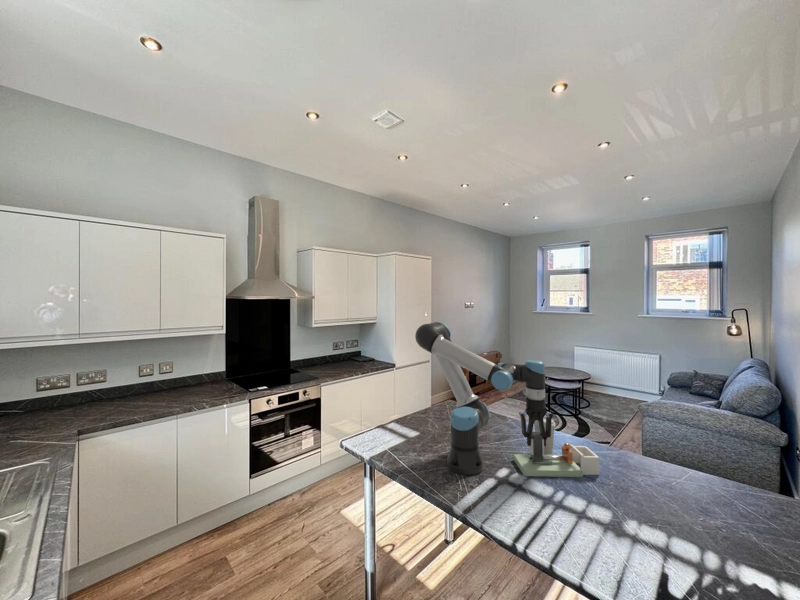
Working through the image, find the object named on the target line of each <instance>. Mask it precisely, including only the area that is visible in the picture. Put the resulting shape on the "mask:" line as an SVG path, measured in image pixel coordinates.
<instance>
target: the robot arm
mask: <svg viewBox="0 0 800 600" xmlns="http://www.w3.org/2000/svg"><path fill="white" fill-rule="evenodd" d="M451 333H452V332H451V330H450V328H449V326H448V325H446V324H445V323H443V322H439V321H438V322H437V321H434V322H431V323H425V324H424V323H423V324H422V325H420V326H419V327H418V328H417V329H416V332H415V335H414V337H415V338H414V339H415V342H416V343H417V345H418V346H419V347H420V348H421V349H423V350H425V351H427V352H429V353H430V354H432V355H434V356H435V357H436V359H437V361H438V363H439V365H440V368H441V370H442V372H443V374H444V376H445V378H446V380H447V383H448V384H449V387H450V389H451V391H452V393H453V396H454V398H455V399H456V404H455V408H454V409H453V410H452V411H451V412H450V418H449V422H450V449H449V452H448V455H447V457H446V465H447V468H448V469H449V470H450V471H452V472H453V473H456V474H459V475H462V476H463V475H464V476H472V475H476V474H479V473H481V472H482V471H483V468H484V460H483V457H482V455H481V452H480V449H479V434H480V433H481V431H482V430H483V429H484V428H485V427H486V426H487V424H489V421H490V410H489V408H488V406H487V405H486V403H484V402H482V401H481V399H480V397H479V395H476V394H475V393H474V392H473V390H472V388H471V386H470V384H469V381H468V380H467V378H466V376H465V373H464V371H463V369H462V368H464V369H465V370H467V371H469V372H471V373H473V374H474V375H477V377H481V378H482V379H483V380H486V381H487V382H490V383H491V385H492V386H493V388H495V389H496V390H498V391H506V390H509V389H510V388H511V387H512V386H513V384H514V383H525V396H526V397H525V404H526V405H525V410H524V411H519V413H518V415H519V416H520V422H521V423H520V424H521V425H520V426H521V433H522V436H523V437H524V438H526V445H527V446H528V447H529V448H528V449H529V450H528V451H529V454H531V455H533V438H532V432H534V422H535V420H538V422H539V427H540V432H541V435H542V447H543V455H544V446H546V440H547V437H551V419H553V417H554V414H553V413H552V412H550V411H547V410H546V408H547V407H546V399H545V398H546V371H545V369H546V368H545V362H543V361H542V360H536V359H533V360H532V359H528V360H526V361H525V362H524V364H519V363H518V364H517V363H507V362H498V363H497V364H496V363H494V362H492V361H490V360H488V359H486V358H484V357H482V356H480V355H478V354H477V353H474V352H472V351H470V350H468V349H466V348H464V347H462V346H460V345H458V344H457V343H454V342H453V341H452V339H451V337H452V335H451ZM527 416H528V425H527V419H526V417H527ZM543 417H546V433H545V428H544V421H543Z"/></svg>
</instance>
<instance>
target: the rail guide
mask: <svg viewBox="0 0 800 600" xmlns="http://www.w3.org/2000/svg"><path fill="white" fill-rule="evenodd" d="M529 459H530V460H533V459H532V457H529ZM532 464H552V461H532Z"/></svg>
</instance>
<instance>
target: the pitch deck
mask: <svg viewBox="0 0 800 600" xmlns="http://www.w3.org/2000/svg"><path fill="white" fill-rule="evenodd" d="M543 456H562V454H551V455H543ZM529 457H531V453H529V454H524V453H522V454H521V453H520V454H518V453H516V454H515V453H514V454H513V461H514V462H515V464H516V465H517V467H518V468H519V470H520V472H521V473H522V475H523V477H553V478H554V477H558V478H559V477H561V478H563V477H564V478H567V477H568V478H569V477H570V478H581V477H582V478H583V477H584V475H583V470H582V469H581V466H579V465H577V464H578V463H575V462H574V461H573V460H572V462H573V464H568V463H567V462H566V461H552V464H532V461H534V460H530V459H529ZM543 461H548V460H543Z"/></svg>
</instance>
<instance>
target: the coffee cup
mask: <svg viewBox="0 0 800 600" xmlns="http://www.w3.org/2000/svg"><path fill="white" fill-rule="evenodd" d="M543 421H544V428H545V433H546V416H544V417H543ZM556 425H557V424H556V422H555V421H554V419H553V418H552V419H551V437H547V440H546V446H544V455H553V452H554V451H553V450H554V436H555V428H556ZM533 427H534V432H540V427H539V422H538V420H535V422H534V425H533ZM540 433H541V432H540Z"/></svg>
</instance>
